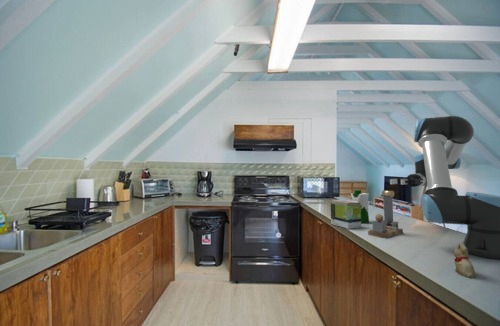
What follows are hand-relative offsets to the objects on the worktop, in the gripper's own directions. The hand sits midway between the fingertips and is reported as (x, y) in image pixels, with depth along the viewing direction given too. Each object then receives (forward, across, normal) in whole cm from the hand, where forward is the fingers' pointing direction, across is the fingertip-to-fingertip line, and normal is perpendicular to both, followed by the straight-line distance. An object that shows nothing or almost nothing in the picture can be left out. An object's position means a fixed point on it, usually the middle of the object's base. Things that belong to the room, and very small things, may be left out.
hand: (396, 182), depth 142 cm
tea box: (+12, +24, -26) cm, 37 cm away
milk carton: (-4, +24, -26) cm, 36 cm away
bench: (+12, 0, -26) cm, 29 cm away
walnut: (+18, 0, -19) cm, 26 cm away
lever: (+9, 0, -22) cm, 24 cm away
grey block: (+18, 0, -24) cm, 30 cm away
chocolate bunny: (+42, -41, -26) cm, 64 cm away
